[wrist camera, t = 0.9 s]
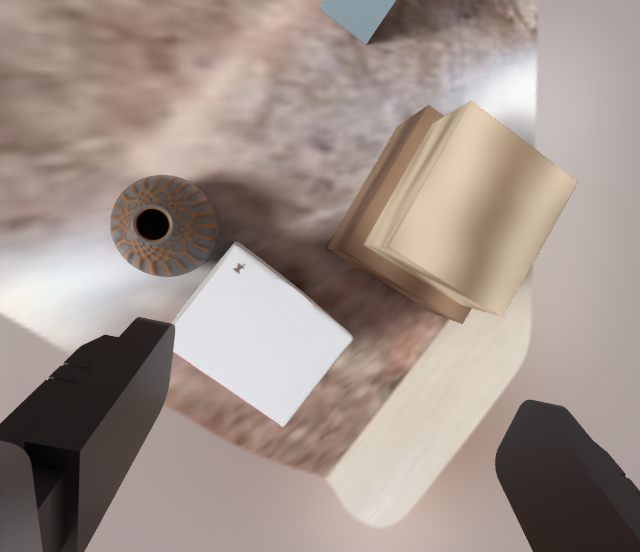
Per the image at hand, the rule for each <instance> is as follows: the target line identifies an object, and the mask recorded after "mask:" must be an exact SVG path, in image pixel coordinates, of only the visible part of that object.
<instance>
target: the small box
mask: <svg viewBox="0 0 640 552" xmlns="http://www.w3.org/2000/svg"><path fill="white" fill-rule="evenodd" d="M172 324H174V325H175V340H174V348H173V353H174V354H175V355H176V356H178V357H179V358H181V359H182V360H184V361H185V362H187V363H188V364H190V365H191V366H193V367H194V368H196V369H197V370H199V371H200V372H202V373H203V374H204V375H206V376H207V377H209V378H210V379H212V380H213V381H215V382H216V383H218V384H219V385H221V386H222V387H223V388H225V389H226V390H228V391H229V392H231V393H232V394H234V395H235V396H237V397H238V398H240V399H241V400H243V401H244V402H246V403H247V404H249V405H250V406H252V407H253V408H255V409H256V410H258V411H259V412H260V413H262V414H263V415H265V416H266V417H268V418H269V419H271V420H272V421H274V422H275V423H277V424H278V425H280V426H281V427H284V426H285V425H286V423H287V422H288V421H289V420H290V418H291V417H292V416H293V415H294V413H295V412H296V411H297V409H298V408H299V407H300V406H301V404H302V403H303V402H304V401H305V399H306V398H307V397H308V396H309V395H310V393H311V392H312V391H313V390H314V388H315V387H316V386H317V385H318V383H319V382H320V381H321V380H322V378H323V377H324V376H325V375H326V373H327V372H328V371H329V370H330V368H331V367H332V366H333V365H334V363H335V362H336V361H337V360H338V358H339V357H340V356H341V355H342V353H343V352H344V351H345V350H346V348H347V347H348V346H349V345H350V343H351V342H352V341H353V336H352V335H351V334H350V333H349V332H348V331H347V330H346V329H345V328H344V327H343V326H341V325H340V324H339V323H338V322H337V321H336V320H335V319H333V318H332V317H331V316H330V315H329V314H328V313H327V312H326V311H325V310H323V309H322V308H321V307H320V306H319V305H317V304H316V303H315V302H314V301H313V300H312V299H311V298H310V297H309V296H307V295H306V294H305V293H304V292H303V291H301V290H300V289H299V288H298V287H296V286H295V285H294V284H293V283H291V282H290V281H289V280H288V279H286V278H285V277H284V276H282V275H281V274H280V273H279V272H277V271H276V270H275V269H273V268H272V267H271V266H270V265H268V264H267V263H266V262H264V261H263V260H262V259H261V258H259V257H258V256H257V255H255V254H254V253H253V252H251V251H250V250H249V249H247V248H246V247H245V246H243V245H242V244H240V243H239V242H237V241H236V242H235V243H234V244H233V245H232V246H231V247H230V248H229V250H228V251H227V252H226V253H225V254H224V256H223V257H222V258H221V259H220V260H219V262H218V263H217V264H216V265H215V267H214V268H213V269H212V270H211V271H210V273H209V274H208V275H207V276H206V278H205V279H204V280H203V281H202V283H201V284H200V285H199V286H198V288H197V289H196V290H195V292H194V293H193V294H192V295H191V297H190V298H189V299H188V301H187V302H186V303H185V305H184V306H183V307H182V309H181V310H180V312H179V313H178V315H177V316H176V318H175V319H174V321H173V322H172Z"/></svg>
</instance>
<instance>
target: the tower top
mask: <svg viewBox="0 0 640 552" xmlns="http://www.w3.org/2000/svg"><path fill="white" fill-rule="evenodd" d="M577 183H578V181H576V180H575V179H574V178H572V177H571V176H570V175H568V174H567V173H566V172H564V171H563V170H562V169H560V168H559V167H558V166H556V165H555V164H554V163H552V162H551V161H550V160H549V159H547V158H546V157H544V156H543V155H542V154H541V153H539V152H538V151H537V150H535V149H534V148H533V147H531V146H530V145H529V144H527V143H526V142H525V141H523V140H522V139H521V138H520V137H518V136H517V135H516V134H514V133H513V132H512V131H510V130H509V129H508V128H506V127H505V126H504V125H502V124H501V123H500V122H498V121H497V120H496V119H495V118H493V117H492V116H491V115H489V114H488V113H487V112H485V111H484V110H483V109H481V108H480V107H479V106H477V105H476V104H475V103H473V102H472V101H471V102H469V103H467V104H465V105H464V106H462V107H460V108H459V109H457V110H455V111H453V112H452V113H450V114H448V115H446V116H445V117H443V118H441V119H439V120H438V121H436V122H434V123H432V125H431V127H430V128H429V130H428V132H427V134H426V136H425V137H424V139H423V141H422V143H421V144H420V146H419V148H418V150H417V151H416V153H415V155H414V157H413V158H412V160H411V162H410V164H409V165H408V167H407V169H406V171H405V173H404V174H403V176H402V178H401V180H400V181H399V183H398V185H397V187H396V188H395V190H394V192H393V194H392V195H391V197H390V199H389V201H388V202H387V204H386V206H385V208H384V210H383V211H382V213H381V215H380V217H379V218H378V220H377V222H376V224H375V225H374V227H373V229H372V231H371V232H370V234H369V236H368V238H367V239H366V241H365V243H364V246H366V247H367V248H369V249H371V250H372V251H374V252H376V253H377V254H379V255H381V256H382V257H384V258H385V259H387V260H389V261H390V262H392V263H394V264H395V265H397V266H399V267H400V268H402V269H403V270H405V271H407V272H408V273H410V274H412V275H413V276H415V277H417V278H418V279H420V280H422V281H423V282H425V283H426V284H428V285H430V286H431V287H433V288H435V289H436V290H438V291H440V292H441V293H443V294H444V295H446V296H448V297H449V298H451V299H453V300H454V301H456V302H458V303H459V304H461V305H464V306H467V307H471V308H474V309H477V310H481V311H484V312H487V313H490V314H494V315H497V316H500V317H503V316H504V314H505V312H506V311H507V309H508V307H509V305H510V303H511V302H512V300H513V298H514V296H515V294H516V293H517V291H518V289H519V287H520V285H521V284H522V282H523V280H524V278H525V277H526V275H527V273H528V271H529V269H530V268H531V266H532V264H533V262H534V260H535V259H536V257H537V255H538V253H539V251H540V249H541V248H542V246H543V244H544V242H545V241H546V239H547V237H548V235H549V234H550V232H551V230H552V228H553V226H554V225H555V223H556V221H557V219H558V217H559V216H560V214H561V212H562V210H563V208H564V207H565V205H566V203H567V201H568V200H569V198H570V196H571V194H572V192H573V190H574V189H575V187H576V185H577Z"/></svg>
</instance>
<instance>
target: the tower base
mask: <svg viewBox="0 0 640 552" xmlns="http://www.w3.org/2000/svg"><path fill="white" fill-rule="evenodd" d="M443 117H444V116H443V115H441V114H440V113H439V112H437V111H436V110H435V109H433V108H432V107H431V106H429V105H428V106H427V107H425V108H424V109H422V110H421V111H419V112H418V113H416V114H415V115H413V116H412V117H410V118H409V119H407V120H406V121H405V122H403V123H402V124H400V125H399V126H398V127H397V128H396V130H395V132H394V133H393V135H392V137H391V138H390V140H389V142H388V144H387V145H386V147H385V149H384V150H383V152H382V154H381V155H380V157H379V159H378V161H377V162H376V164H375V166H374V167H373V169H372V171H371V172H370V174H369V176H368V178H367V179H366V181H365V183H364V184H363V186H362V188H361V189H360V191H359V193H358V195H357V196H356V198H355V200H354V201H353V203H352V205H351V206H350V208H349V210H348V212H347V213H346V215H345V217H344V218H343V220H342V222H341V223H340V225H339V227H338V229H337V230H336V232H335V234H334V235H333V237H332V239H331V240H330V242H329V244H328V246H327V247H326V248H327V249H328V250H330V251H332V252H333V253H335V254H336V255H338V256H340V257H341V258H343V259H345V260H346V261H348V262H349V263H351V264H353V265H354V266H356V267H358V268H359V269H361V270H362V271H364V272H366V273H367V274H369V275H371V276H372V277H374V278H375V279H377V280H379V281H380V282H382V283H384V284H385V285H387V286H388V287H390V288H392V289H393V290H395V291H397V292H398V293H400V294H401V295H403V296H405V297H406V298H408V299H410V300H411V301H413V302H415V303H416V304H418V305H419V306H421V307H423V308H424V309H426V310H428V311H430V312H432V313H435V314H438V315H440V316H443V317H445V318H448V319H451V320H453V321H456V322H458V323H461V324H463V322H464V321H465V319H466V317H467V315H468V314H469V312H470V310H471V307H467V306H464V305H461V304H459V303H458V302H456V301H454V300H453V299H451V298H449V297H448V296H446V295H444V294H443V293H441V292H440V291H438V290H436V289H435V288H433V287H431V286H430V285H428V284H426V283H425V282H423V281H422V280H420V279H418V278H417V277H415V276H413V275H412V274H410V273H408V272H407V271H405V270H403V269H402V268H400V267H399V266H397V265H395V264H394V263H392V262H390V261H389V260H387V259H385V258H384V257H382V256H381V255H379V254H377V253H376V252H374V251H372V250H371V249H369V248H367V247H366V246H364V243H365V241H366V239H367V238H368V236H369V234H370V232H371V231H372V229H373V227H374V225H375V224H376V222H377V220H378V218H379V217H380V215H381V213H382V211H383V210H384V208H385V206H386V204H387V202H388V201H389V199H390V197H391V195H392V194H393V192H394V190H395V188H396V187H397V185H398V183H399V181H400V180H401V178H402V176H403V174H404V173H405V171H406V169H407V167H408V165H409V164H410V162H411V160H412V158H413V157H414V155H415V153H416V151H417V150H418V148H419V146H420V144H421V143H422V141H423V139H424V137H425V136H426V134H427V132H428V130H429V128H430V127H431V125H432V123H434V122H436V121H438V120H439V119H441V118H443Z"/></svg>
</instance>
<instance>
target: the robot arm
mask: <svg viewBox="0 0 640 552" xmlns="http://www.w3.org/2000/svg"><path fill="white" fill-rule="evenodd" d="M174 340H175V325H174V324H170V323H165V322H161V321H156V320H151V319H146V318H141V317H138V318H136V319H135V320H134V321H133V322H132V323H131V324H130V325H129V327H128V328H127V329H126V330H125V331H124V332H123V333H122V334H121V335H120V336H119V337H114V336H109V335H103V336H101V337H99V338H97V339H95V340H93V341H91V342H88V343H86V344H84V345H82V346H80V347H79V348H78V349H77V350H76V351H75V352H74V353H73V354H72V355H71V356H70V357H69V358H68V359H67V360H66V361H65V362H64V365H63V366H60V367H59V368H58V369H57V370H55V371H54V372H53V374H51V375H50V376H49V379H48V380H45V381H44V382H43V383H42V384H41V385H40V386H39V387H38V388H37V389H36V390H35V391H34V392H33V393H32V394H31V395H30V396H28V398H27V399H26V400H24V401H23V402H22V403H21V404H20V405H19V406H18V407H17V408H16V409H15V410H14V411H13V412H12V413H11V414H10V415H9V416H8V417H7V418H6V419H5V420H4V421H3V422H2V423H0V552H84V551H85V549H86V547H87V546H88V544H89V542H90V540H91V538H92V536H93V534H94V533H95V531H96V529H97V527H98V526H99V524H100V522H101V520H102V518H103V516H104V515H105V513H106V511H107V509H108V507H109V505H110V504H111V502H112V500H113V498H114V496H115V494H116V492H117V491H118V489H119V487H120V485H121V483H122V481H123V479H124V478H125V476H126V474H127V472H128V470H129V468H130V467H131V465H132V463H133V461H134V459H135V457H136V456H137V454H138V452H139V450H140V448H141V446H142V445H143V443H144V441H145V439H146V437H147V435H148V434H149V432H150V430H151V428H152V426H153V424H154V422H155V421H156V419H157V417H158V415H159V413H160V411H161V409H162V407H163V404H164V401H165V398H166V395H167V391H168V387H169V380H170V372H171V364H172V356H173V348H174ZM495 466H496V473H497V477H498V479H499V482H500V484H501V486H502V488H503V490H504V492H505V494H506V496H507V498H508V500H509V502H510V504H511V507H512V508H513V511H514V513H515V515H516V517H517V519H518V521H519V523H520V525H521V528H522V530H523V532H524V534H525V536H526V538H527V540H528V542H529V544H530V546H531V548H532V550H533V552H640V491H639V489H638V488H637V487H636V486H635V485H634V483H633V482H632V481H631V480H630V479H629V478H626V477H625V473H624V472H623V470H622V469H621V468H620V467H619V466H618V465H617V463H616V462H615V461H614V460H613V459H612V457H611V456H610V455H609V454H608V453H607V452H606V451H605V450H604V449H603V448H601V447H600V446H599V445H598V444H597V443H595V442H594V441H593V440H592V439H591V438H590V436H589V435H588V434H587V433H586V432H585V430H584V429H583V428H582V427H581V425H580V424H579V423H578V422H577V421H576V420H575V418H574V417H573V416H572V415H571V413H570V412H569V411H568V410H567V409H566V408H564V407H562V406H559V405H554V404H549V403H544V402H540V401H535V400H527V401H525V402H523V404H521V406H520V407H519V409H518V411H517V413H516V415H515V417H514V419H513V421H512V423H511V425H510V426H509V428H508V430H507V432H506V434H505V436H504V438H503V440H502V442H501V444H500V446H499V448H498V450H497V453H496V460H495Z"/></svg>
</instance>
